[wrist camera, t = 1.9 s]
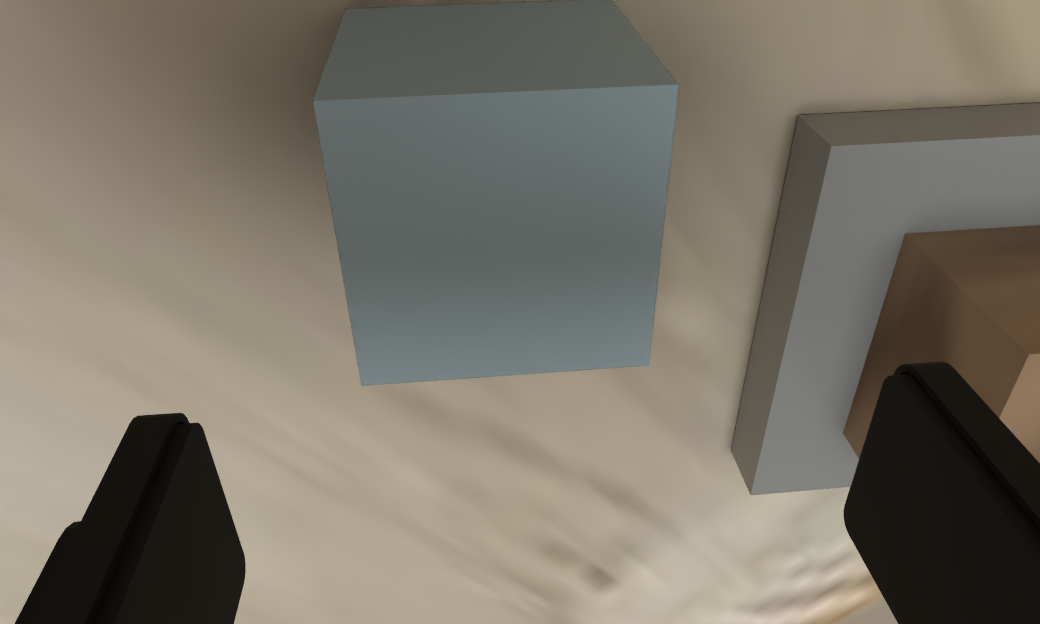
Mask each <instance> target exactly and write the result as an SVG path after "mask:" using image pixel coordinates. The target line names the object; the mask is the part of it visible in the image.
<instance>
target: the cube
mask: <svg viewBox="0 0 1040 624" xmlns="http://www.w3.org/2000/svg"><path fill="white" fill-rule="evenodd" d="M678 88H679V84H678V83H677V81H676V80H675V79H674V78H673V76H672V75H671V74H670V73H669V71H668V70H667V69H666V68H665V66H664V65H663V64H662V63H661V61H660V60H659V59H658V58H657V56H656V55H655V54H654V53H653V51H652V50H651V49H650V48H649V46H648V45H647V44H646V43H645V41H644V40H643V39H642V37H641V36H640V35H639V34H638V32H637V31H636V30H635V29H634V27H633V26H632V25H631V24H630V22H629V21H628V20H627V19H626V17H625V16H624V15H623V14H622V12H621V11H620V10H619V9H618V7H617V6H616V5H615V4H614V2H613V1H612V0H570V1H543V2H516V3H489V4H462V5H435V6H408V7H381V8H354V9H345V12H344V15H343V18H342V21H341V23H340V26H339V29H338V32H337V35H336V37H335V40H334V43H333V46H332V48H331V51H330V54H329V57H328V60H327V62H326V65H325V68H324V71H323V74H322V76H321V79H320V82H319V85H318V88H317V90H316V93H315V96H314V99H313V105H314V111H315V117H316V123H317V128H318V134H319V140H320V146H321V152H322V158H323V164H324V169H325V175H326V181H327V187H328V193H329V199H330V205H331V210H332V216H333V222H334V228H335V234H336V240H337V245H338V251H339V257H340V263H341V269H342V275H343V281H344V286H345V292H346V298H347V304H348V310H349V316H350V322H351V327H352V333H353V339H354V345H355V351H356V357H357V363H358V368H359V374H360V380H361V386H366V385H380V384H394V383H408V382H423V381H437V380H451V379H465V378H479V377H493V376H508V375H522V374H536V373H550V372H564V371H578V370H592V369H607V368H621V367H635V366H649V359H650V350H651V340H652V331H653V322H654V312H655V303H656V294H657V284H658V275H659V265H660V256H661V247H662V237H663V228H664V219H665V209H666V200H667V191H668V181H669V172H670V162H671V153H672V144H673V134H674V125H675V116H676V106H677V97H678Z"/></svg>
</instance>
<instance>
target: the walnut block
mask: <svg viewBox="0 0 1040 624" xmlns="http://www.w3.org/2000/svg"><path fill="white" fill-rule="evenodd" d="M941 361H942V362H946V363H948V364H950V365H951V366H952V367H953V368H954V369H955V370H956V371H957V372H958V373H959V374H960V375H961V376H962V378H963V379H964V380H965V381H966V382H967V383H968V384H969V385H970V386H971V388H972V389H973V390H974V391H975V392H976V393H977V394H978V395H979V396H980V398H981V399H982V400H983V401H984V402H985V403H986V404H987V405H988V406H989V408H990V409H991V410H992V411H993V412H994V413H995V414H996V415H997V416H998V417H999V419H1000V420H1001V421H1002V422H1003V423H1004V424H1005V425H1006V426H1007V427H1008V429H1009V430H1010V431H1011V432H1012V433H1013V434H1014V435H1015V436H1016V437H1017V439H1018V440H1019V441H1020V442H1021V443H1022V444H1023V445H1024V446H1025V447H1026V449H1027V450H1028V451H1029V452H1030V453H1031V454H1032V455H1033V456H1034V457H1035V459H1036V460H1037V461H1038V462H1039V463H1040V225H1032V226H1016V227H1000V228H984V229H968V230H952V231H936V232H920V233H905V235H904V238H903V241H902V244H901V248H900V251H899V254H898V257H897V261H896V264H895V267H894V270H893V273H892V277H891V280H890V283H889V286H888V289H887V293H886V296H885V299H884V302H883V306H882V309H881V312H880V315H879V318H878V322H877V325H876V328H875V331H874V334H873V338H872V341H871V344H870V347H869V350H868V354H867V357H866V360H865V363H864V367H863V370H862V373H861V376H860V379H859V383H858V386H857V389H856V392H855V395H854V399H853V402H852V405H851V408H850V412H849V415H848V418H847V421H846V424H845V428H844V431H843V434H844V436H845V437H846V439H847V441H848V442H849V444H850V445H851V447H852V449H853V450H854V452H855V453H856V455H857V457H858V458H860V455H861V452H862V448H863V445H864V442H865V439H866V436H867V432H868V429H869V426H870V423H871V420H872V416H873V413H874V410H875V407H876V404H877V400H878V397H879V394H880V391H881V387H882V384H883V382H884V380H885V378H887V377H888V376H891V375H894V372H895V370H896V369H897V368H898V367H899V366H900V365H903V364H912V363H927V362H941Z"/></svg>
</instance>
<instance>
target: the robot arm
mask: <svg viewBox="0 0 1040 624" xmlns="http://www.w3.org/2000/svg"><path fill="white" fill-rule="evenodd" d="M844 521H845V526H846V529H847V531H848V534H849V536H850V537H851V539H852V541H853V543H854V545H855V546H856V548H857V550H858V552H859V554H860V555H861V557H862V559H863V561H864V563H865V564H866V566H867V568H868V570H869V572H870V573H871V575H872V577H873V579H874V581H875V582H876V584H877V586H878V588H879V590H880V591H881V593H882V595H883V597H884V599H885V600H886V602H887V604H888V606H889V608H890V609H891V611H892V613H893V615H894V617H895V618H896V620H897V622H898V624H1040V463H1039V462H1038V461H1037V460H1036V459H1035V457H1034V456H1033V455H1032V454H1031V453H1030V452H1029V451H1028V450H1027V449H1026V447H1025V446H1024V445H1023V444H1022V443H1021V442H1020V441H1019V440H1018V439H1017V437H1016V436H1015V435H1014V434H1013V433H1012V432H1011V431H1010V430H1009V429H1008V427H1007V426H1006V425H1005V424H1004V423H1003V422H1002V421H1001V420H1000V419H999V417H998V416H997V415H996V414H995V413H994V412H993V411H992V410H991V409H990V408H989V406H988V405H987V404H986V403H985V402H984V401H983V400H982V399H981V398H980V396H979V395H978V394H977V393H976V392H975V391H974V390H973V389H972V388H971V386H970V385H969V384H968V383H967V382H966V381H965V380H964V379H963V378H962V376H961V375H960V374H959V373H958V372H957V371H956V370H955V369H954V368H953V367H952V366H951V365H950V364H948V363H946V362H942V361H941V362H927V363H912V364H903V365H900V366H899V367H898V368H897V369H896V370H895V372H894V375H891V376H888V377H887V378H885V380H884V382H883V384H882V387H881V391H880V394H879V397H878V400H877V404H876V407H875V410H874V413H873V416H872V420H871V423H870V426H869V429H868V432H867V436H866V439H865V442H864V445H863V448H862V452H861V455H860V458H859V461H858V464H857V468H856V471H855V474H854V477H853V480H852V484H851V487H850V490H849V493H848V497H847V500H846V503H845V507H844ZM244 579H245V557H244V553H243V550H242V547H241V544H240V541H239V537H238V534H237V531H236V528H235V525H234V522H233V519H232V516H231V513H230V510H229V507H228V504H227V501H226V498H225V495H224V492H223V489H222V485H221V482H220V479H219V476H218V473H217V470H216V467H215V464H214V461H213V458H212V455H211V452H210V449H209V446H208V443H207V440H206V437H205V433H204V430H203V428H202V426H201V425H200V424H199V423H189V421H188V419H187V417H186V416H185V415H184V414H182V413H172V414H157V415H143V416H137V417H135V418H133V420H132V421H131V423H130V424H129V426H128V428H127V430H126V432H125V434H124V436H123V438H122V440H121V442H120V444H119V446H118V448H117V450H116V452H115V454H114V456H113V458H112V460H111V462H110V464H109V466H108V468H107V470H106V472H105V474H104V476H103V478H102V480H101V482H100V484H99V486H98V488H97V490H96V492H95V494H94V496H93V498H92V500H91V502H90V504H89V506H88V508H87V510H86V512H85V514H84V516H83V518H82V520H81V521H80V522H74V523H72V524H71V525H70V526H68V527H67V528H66V529H65V530H64V532H63V533H62V535H61V536H60V538H59V539H58V541H57V543H56V545H55V547H54V549H53V551H52V553H51V555H50V557H49V558H48V560H47V562H46V564H45V566H44V568H43V570H42V572H41V574H40V576H39V578H38V580H37V582H36V584H35V586H34V587H33V589H32V591H31V593H30V595H29V597H28V599H27V601H26V603H25V605H24V607H23V609H22V611H21V613H20V615H19V616H18V618H17V620H16V622H15V624H234V620H235V616H236V612H237V608H238V604H239V600H240V596H241V592H242V588H243V585H244Z"/></svg>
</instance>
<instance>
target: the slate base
mask: <svg viewBox="0 0 1040 624" xmlns="http://www.w3.org/2000/svg"><path fill="white" fill-rule="evenodd" d="M1032 225H1040V103H1028V104H1008V105H988V106H969V107H949V108H929V109H910V110H890V111H870V112H851V113H831V114H811V115H798V119H797V124H796V129H795V134H794V139H793V144H792V149H791V154H790V159H789V164H788V169H787V174H786V179H785V184H784V189H783V194H782V199H781V204H780V209H779V214H778V219H777V224H776V229H775V234H774V239H773V244H772V249H771V254H770V259H769V264H768V269H767V274H766V279H765V284H764V288H763V293H762V298H761V303H760V308H759V313H758V318H757V323H756V328H755V333H754V338H753V343H752V348H751V353H750V358H749V363H748V368H747V373H746V378H745V383H744V388H743V393H742V398H741V403H740V408H739V413H738V418H737V423H736V428H735V433H734V438H733V443H732V448H731V452H732V454H733V456H734V459H735V461H736V463H737V465H738V468H739V470H740V472H741V474H742V477H743V479H744V481H745V484H746V486H747V488H748V490H749V493H750V495H759V494H771V493H783V492H794V491H806V490H817V489H829V488H841V487H851V484H852V480H853V477H854V474H855V471H856V468H857V464H858V461H859V458H858V457H857V455H856V453H855V452H854V450H853V449H852V447H851V445H850V444H849V442H848V441H847V439H846V437H845V436H844V434H843V431H844V428H845V424H846V421H847V418H848V415H849V412H850V408H851V405H852V402H853V399H854V395H855V392H856V389H857V386H858V383H859V379H860V376H861V373H862V370H863V367H864V363H865V360H866V357H867V354H868V350H869V347H870V344H871V341H872V338H873V334H874V331H875V328H876V325H877V322H878V318H879V315H880V312H881V309H882V306H883V302H884V299H885V296H886V293H887V289H888V286H889V283H890V280H891V277H892V273H893V270H894V267H895V264H896V261H897V257H898V254H899V251H900V248H901V244H902V241H903V238H904V235H905V233H920V232H936V231H952V230H968V229H984V228H1000V227H1016V226H1032Z"/></svg>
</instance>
